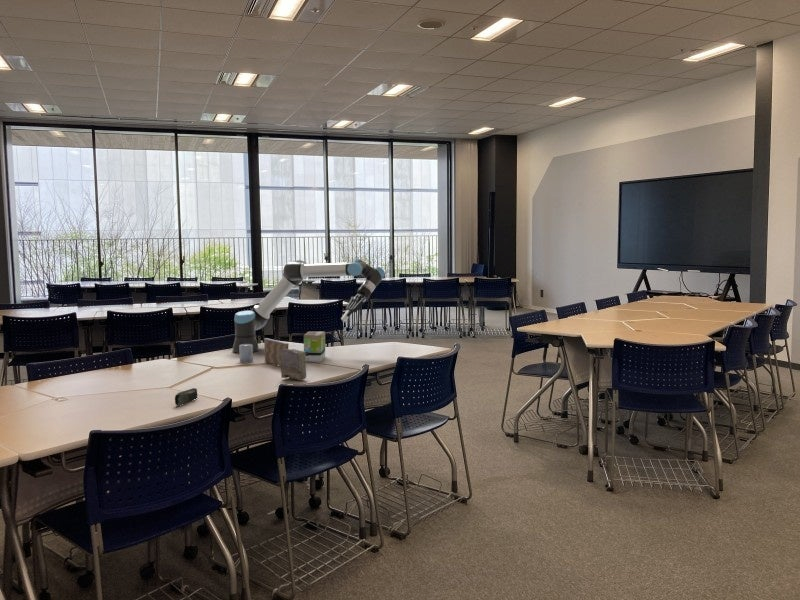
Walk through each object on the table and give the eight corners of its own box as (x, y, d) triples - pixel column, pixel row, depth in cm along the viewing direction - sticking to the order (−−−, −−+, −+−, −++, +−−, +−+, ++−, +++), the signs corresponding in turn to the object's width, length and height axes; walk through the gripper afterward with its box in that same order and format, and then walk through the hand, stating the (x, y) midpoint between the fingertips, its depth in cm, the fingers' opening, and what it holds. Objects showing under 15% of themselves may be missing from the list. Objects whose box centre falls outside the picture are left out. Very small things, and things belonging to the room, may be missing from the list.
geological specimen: (306, 379, 293) (306, 348, 292) (298, 382, 288) (298, 350, 286) (288, 377, 298) (287, 346, 297) (280, 380, 293) (279, 348, 291)
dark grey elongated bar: (192, 387, 260) (171, 394, 246) (198, 387, 260) (178, 395, 245) (192, 399, 261) (171, 407, 246) (198, 399, 260) (178, 407, 245)
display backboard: (264, 361, 338) (263, 338, 337) (267, 361, 339) (266, 338, 338) (286, 368, 320) (285, 343, 319) (289, 368, 321) (288, 343, 320)
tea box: (321, 362, 337) (321, 334, 335) (303, 362, 337) (302, 334, 336) (325, 356, 352) (325, 330, 350) (308, 356, 352) (307, 330, 351)
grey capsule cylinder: (237, 361, 341) (237, 344, 340) (249, 359, 345) (249, 343, 344) (243, 363, 335) (242, 346, 334) (255, 361, 340) (254, 345, 339)
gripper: (376, 294, 360) (353, 325, 351) (363, 293, 370) (340, 323, 361) (369, 285, 356) (345, 317, 347) (356, 284, 367) (332, 315, 358)
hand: (343, 320), depth 354 cm, fingers closed
